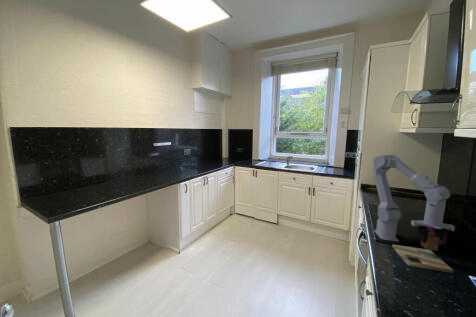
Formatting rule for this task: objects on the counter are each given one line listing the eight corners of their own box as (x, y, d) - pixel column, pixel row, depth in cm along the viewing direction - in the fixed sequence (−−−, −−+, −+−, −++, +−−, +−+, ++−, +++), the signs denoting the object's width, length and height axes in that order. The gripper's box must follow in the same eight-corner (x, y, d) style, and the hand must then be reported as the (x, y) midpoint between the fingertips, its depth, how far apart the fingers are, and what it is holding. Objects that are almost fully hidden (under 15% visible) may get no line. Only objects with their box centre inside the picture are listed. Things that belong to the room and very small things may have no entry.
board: (392, 246, 95) (392, 243, 95) (429, 252, 91) (430, 249, 91) (408, 265, 82) (408, 262, 82) (453, 273, 78) (453, 269, 78)
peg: (420, 244, 90) (422, 232, 89) (431, 245, 88) (433, 233, 88) (426, 249, 86) (428, 236, 85) (437, 250, 85) (439, 238, 84)
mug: (426, 240, 101) (428, 228, 100) (428, 234, 107) (430, 222, 106) (445, 246, 96) (447, 233, 95) (446, 239, 102) (448, 227, 101)
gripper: (419, 215, 83) (415, 244, 85) (462, 220, 79) (457, 250, 81) (410, 209, 90) (406, 236, 92) (449, 213, 86) (444, 241, 88)
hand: (429, 242), depth 87 cm, fingers closed on peg, 4 cm apart
